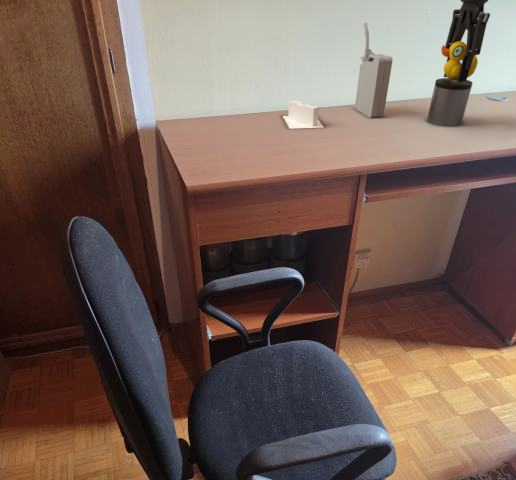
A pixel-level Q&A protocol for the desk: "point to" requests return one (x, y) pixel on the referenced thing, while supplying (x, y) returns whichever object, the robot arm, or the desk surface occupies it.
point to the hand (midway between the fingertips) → (454, 78)
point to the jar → (449, 102)
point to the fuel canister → (373, 82)
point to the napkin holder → (302, 116)
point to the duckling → (456, 60)
